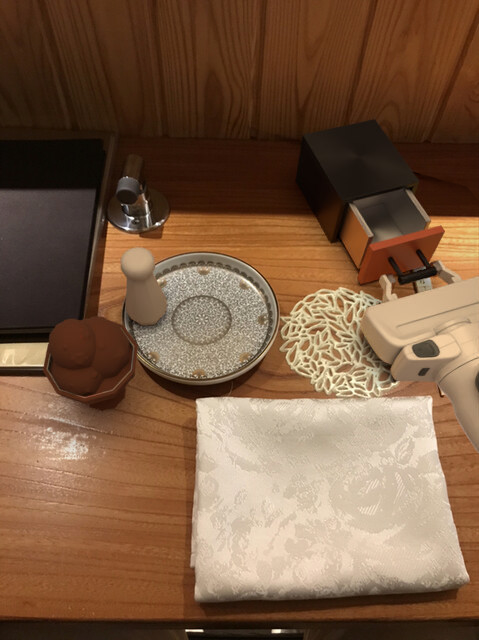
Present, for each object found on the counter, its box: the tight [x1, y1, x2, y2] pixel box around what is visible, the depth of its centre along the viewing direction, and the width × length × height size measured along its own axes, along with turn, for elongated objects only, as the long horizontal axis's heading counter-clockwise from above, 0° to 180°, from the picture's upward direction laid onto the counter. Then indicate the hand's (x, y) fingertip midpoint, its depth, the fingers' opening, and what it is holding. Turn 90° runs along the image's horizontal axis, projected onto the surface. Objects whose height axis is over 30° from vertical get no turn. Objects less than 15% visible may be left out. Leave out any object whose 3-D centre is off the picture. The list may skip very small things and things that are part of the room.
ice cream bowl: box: [42, 315, 139, 412], centre depth 67 cm, size 11×11×15 cm
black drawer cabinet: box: [295, 118, 420, 244], centre depth 89 cm, size 15×13×10 cm
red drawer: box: [338, 188, 446, 287], centre depth 83 cm, size 18×11×8 cm, turn 19°
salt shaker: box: [120, 246, 168, 327], centre depth 75 cm, size 6×6×13 cm
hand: (409, 269), depth 80 cm, fingers open, 6 cm apart
